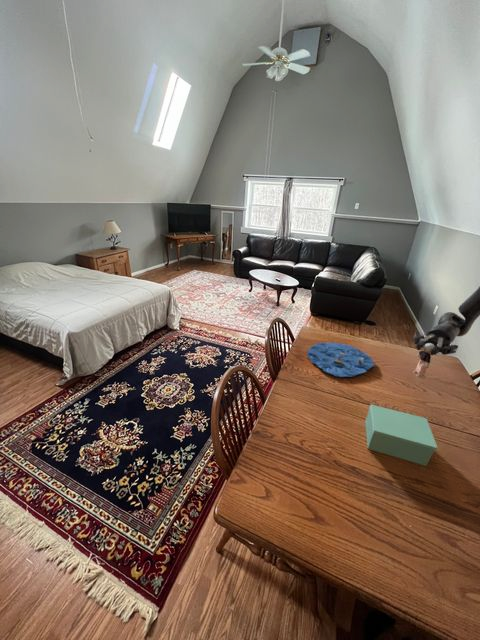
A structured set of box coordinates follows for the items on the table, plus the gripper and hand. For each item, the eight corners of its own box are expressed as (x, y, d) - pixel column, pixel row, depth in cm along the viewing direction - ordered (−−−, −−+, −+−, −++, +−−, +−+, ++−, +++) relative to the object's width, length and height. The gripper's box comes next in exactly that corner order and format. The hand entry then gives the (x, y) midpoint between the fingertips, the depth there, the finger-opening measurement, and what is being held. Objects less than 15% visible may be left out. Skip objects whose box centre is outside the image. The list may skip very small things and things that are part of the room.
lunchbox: (416, 435, 87) (424, 419, 84) (426, 466, 77) (434, 449, 74) (365, 421, 91) (370, 406, 88) (367, 448, 81) (373, 432, 78)
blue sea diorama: (300, 371, 118) (302, 361, 115) (311, 340, 143) (313, 331, 140) (374, 388, 107) (377, 377, 105) (372, 351, 132) (374, 342, 130)
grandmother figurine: (430, 380, 92) (444, 349, 87) (419, 380, 92) (432, 349, 87) (417, 367, 99) (429, 338, 94) (407, 367, 99) (418, 337, 94)
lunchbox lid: (425, 420, 83) (426, 418, 83) (436, 450, 74) (437, 448, 73) (370, 406, 88) (370, 404, 88) (373, 432, 78) (374, 430, 78)
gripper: (423, 319, 103) (406, 332, 93) (468, 333, 93) (454, 349, 83) (417, 336, 106) (399, 350, 96) (460, 352, 97) (445, 369, 86)
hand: (425, 350), depth 90 cm, fingers closed on grandmother figurine, 3 cm apart
